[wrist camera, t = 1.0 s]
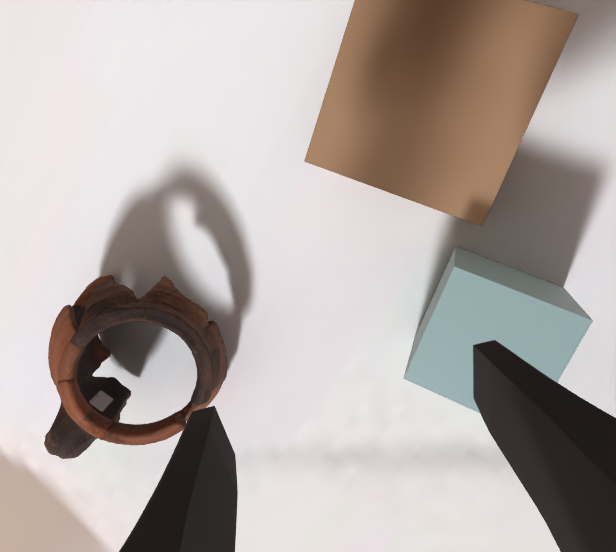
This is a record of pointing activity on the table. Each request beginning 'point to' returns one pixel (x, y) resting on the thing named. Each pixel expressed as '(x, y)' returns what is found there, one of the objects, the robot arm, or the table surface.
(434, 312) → the cube
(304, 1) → the table surface
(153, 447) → the table surface
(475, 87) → the slab
